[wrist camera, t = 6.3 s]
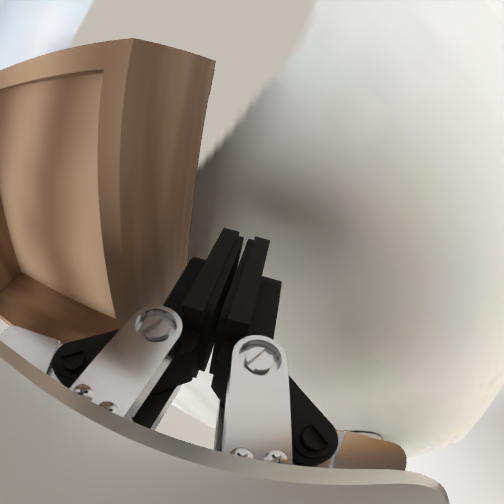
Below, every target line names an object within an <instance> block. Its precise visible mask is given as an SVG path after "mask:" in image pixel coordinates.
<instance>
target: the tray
mask: <svg viewBox="0 0 504 504" xmlns="http://www.w3.org/2000/svg"><path fill="white" fill-rule="evenodd" d="M215 62H216V61H214V60H211V59H208V58H205V57H202V56H199V55H196V54H193V53H190V52H187V51H183V50H180V49H176V48H172V47H169V46H165V45H161V44H157V43H153V42H149V41H144V40H140V39H134V38H131V39H121V40H114V41H106V42H100V43H94V44H88V45H83V46H78V47H73V48H69V49H65V50H60V51H57V52H53V53H49V54H46V55H42V56H39V57H36V58H33V59H30V60H27V61H24V62H21V63H18V64H16V65H13V66H10V67H8V68H5V69H3V70H0V318H1V319H2V320H3V321H4V322H6V323H7V324H8V325H9V326H11V327H12V326H17V327H21V328H24V329H27V330H29V331H32V332H35V333H38V334H41V335H45V336H48V337H51V338H54V339H58V340H59V341H60V343H62V344H65V343H68V342H71V341H75V340H79V339H83V338H87V337H91V336H95V335H99V334H102V333H106V332H110V331H114V330H118V329H121V328H122V327H123V325H124V324H125V323H126V322H127V321H128V320H129V319H130V318H131V317H132V315H133V314H134V313H136V312H137V311H138V310H139V309H141V308H144V307H146V306H151V305H160V306H163V304H164V303H165V301H166V299H167V298H168V296H169V294H170V293H171V291H172V289H173V288H174V286H175V284H176V283H177V281H178V279H179V278H180V276H181V274H182V273H183V271H184V270H185V268H186V266H187V261H188V249H189V237H190V227H191V217H192V207H193V198H194V190H195V182H196V174H197V166H198V159H199V152H200V145H201V139H202V132H203V126H204V120H205V114H206V109H207V103H208V97H209V95H210V89H211V85H212V79H213V75H214V67H215Z"/></svg>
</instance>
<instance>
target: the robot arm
mask: <svg viewBox="0 0 504 504" xmlns="http://www.w3.org/2000/svg"><path fill="white" fill-rule="evenodd" d="M243 240H244V237H240V236H239V232H237V231H233V230H230V229H226V228H224V229H223V231H222V232H221V234H220V236H219V238H218V240H217V241H216V243H215V245H214V247H213V249H212V250H211V252H210V254H209V256H208V258H207V259H206V260H203V259H199V258H196V257H193V258H192V259H191V260H190V262H189V263H188V265H187V266H186V268H185V270H184V271H183V273H182V274H181V276H180V278H179V279H178V281H177V283H176V284H175V286H174V288H173V289H172V291H171V293H170V294H169V296H168V298H167V299H166V301H165V303H164V304H163V306H160V305H151V306H146V307H144V308H141V309H139V310H138V311H137V312H136V313H134V314H133V315H132V317H131V318H130V319H129V320H128V321H127V322H126V323H125V324H124V325H123V327H122V328H121V329H118V330H114V331H110V332H106V333H102V334H99V335H95V336H91V337H87V338H83V339H79V340H75V341H71V342H68V343H65V344H62V343H60V341H59V340H58V339H54V338H51V337H48V336H45V335H41V334H38V333H35V332H32V331H29V330H27V329H24V328H21V327H17V326H12V327H8V328H7V329H5V330H4V331H3V332H2V334H1V335H0V504H449V500H448V496H447V493H446V491H445V489H444V488H443V487H442V486H441V484H439V483H437V482H436V481H435V480H433V479H431V478H429V477H427V476H424V475H422V474H418V473H414V472H409V471H405V468H406V454H405V452H404V450H403V449H402V448H401V447H400V446H399V445H397V444H395V443H391V442H387V441H383V440H382V438H381V437H380V436H378V435H376V434H372V433H365V432H351V431H347V430H344V431H343V432H342V431H339V430H336V429H335V428H334V427H333V425H332V424H331V423H330V422H329V421H328V419H327V418H326V417H325V416H324V415H323V414H322V413H321V412H320V411H319V410H318V408H317V407H316V406H315V405H314V404H313V403H312V402H311V401H310V399H309V398H308V397H307V396H306V395H305V394H304V393H303V391H302V390H301V389H300V388H299V387H298V386H297V385H296V383H295V382H294V381H293V380H292V379H291V378H290V376H289V375H288V360H287V356H286V352H285V351H284V349H283V348H282V346H281V345H279V344H278V343H277V342H276V341H274V340H273V338H274V331H275V325H276V318H277V312H278V305H279V298H280V291H281V284H282V282H281V281H278V280H274V279H271V278H267V277H263V276H262V272H263V268H264V264H265V260H266V255H267V251H268V247H269V243H270V240H267V239H263V238H259V237H256V236H255V239H254V240H251V239H248V241H247V243H246V246H245V249H244V252H243V254H242V257H241V260H240V262H239V258H240V253H241V249H242V244H243ZM238 262H239V265H238ZM237 267H238V268H237ZM214 343H215V344H214ZM213 346H214V349H213ZM212 349H213V355H212V360H211V366H210V371H209V373H211V374H214V375H213V380H212V385H211V387H212V389H213V391H214V392H215V394H216V395H217V397H218V398H219V402H218V412H217V421H216V432H215V442H214V450H211V449H208V448H204V447H200V446H197V445H194V444H191V443H187V442H185V441H182V440H178V439H175V438H173V437H170V436H167V435H164V434H161V433H159V432H156V431H155V429H156V427H157V426H158V424H159V422H160V421H161V419H162V417H163V416H164V414H165V413H166V411H167V409H168V408H169V406H170V404H171V403H172V401H173V399H174V398H175V396H176V394H177V393H178V391H179V390H180V387H181V385H182V384H184V383H187V382H190V381H192V378H193V377H195V378H196V377H197V374H198V371H199V370H201V371H205V369H206V366H207V363H208V361H209V358H210V355H211V352H212Z"/></svg>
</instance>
